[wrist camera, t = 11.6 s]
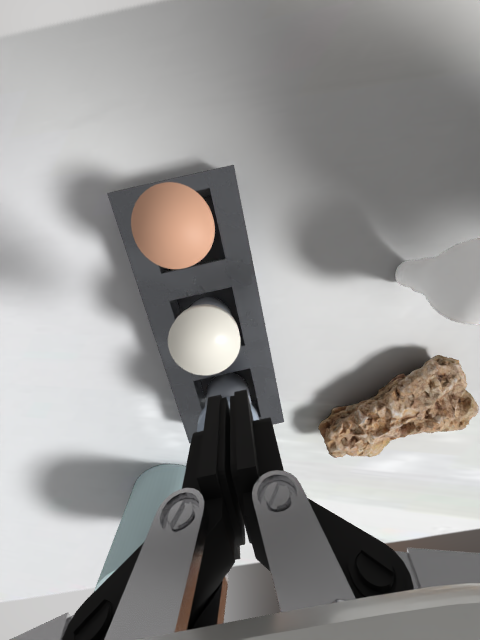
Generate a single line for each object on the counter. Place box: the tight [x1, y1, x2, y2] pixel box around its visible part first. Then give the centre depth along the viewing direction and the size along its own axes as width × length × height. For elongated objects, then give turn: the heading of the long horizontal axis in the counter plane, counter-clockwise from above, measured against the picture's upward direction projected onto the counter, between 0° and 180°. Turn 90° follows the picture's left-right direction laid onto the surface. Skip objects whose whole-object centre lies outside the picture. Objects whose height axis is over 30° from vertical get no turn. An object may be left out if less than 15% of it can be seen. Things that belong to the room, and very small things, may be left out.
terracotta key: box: [131, 182, 215, 269], centre depth 19 cm, size 5×5×6 cm
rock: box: [318, 355, 479, 458], centre depth 28 cm, size 17×5×10 cm
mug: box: [94, 464, 186, 592], centre depth 27 cm, size 14×9×10 cm
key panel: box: [108, 165, 284, 443], centre depth 24 cm, size 10×24×3 cm, turn 12°
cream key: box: [168, 297, 240, 375], centre depth 21 cm, size 5×5×6 cm
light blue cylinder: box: [197, 373, 259, 432], centre depth 24 cm, size 5×5×6 cm
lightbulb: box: [395, 238, 480, 325], centre depth 21 cm, size 6×6×11 cm
